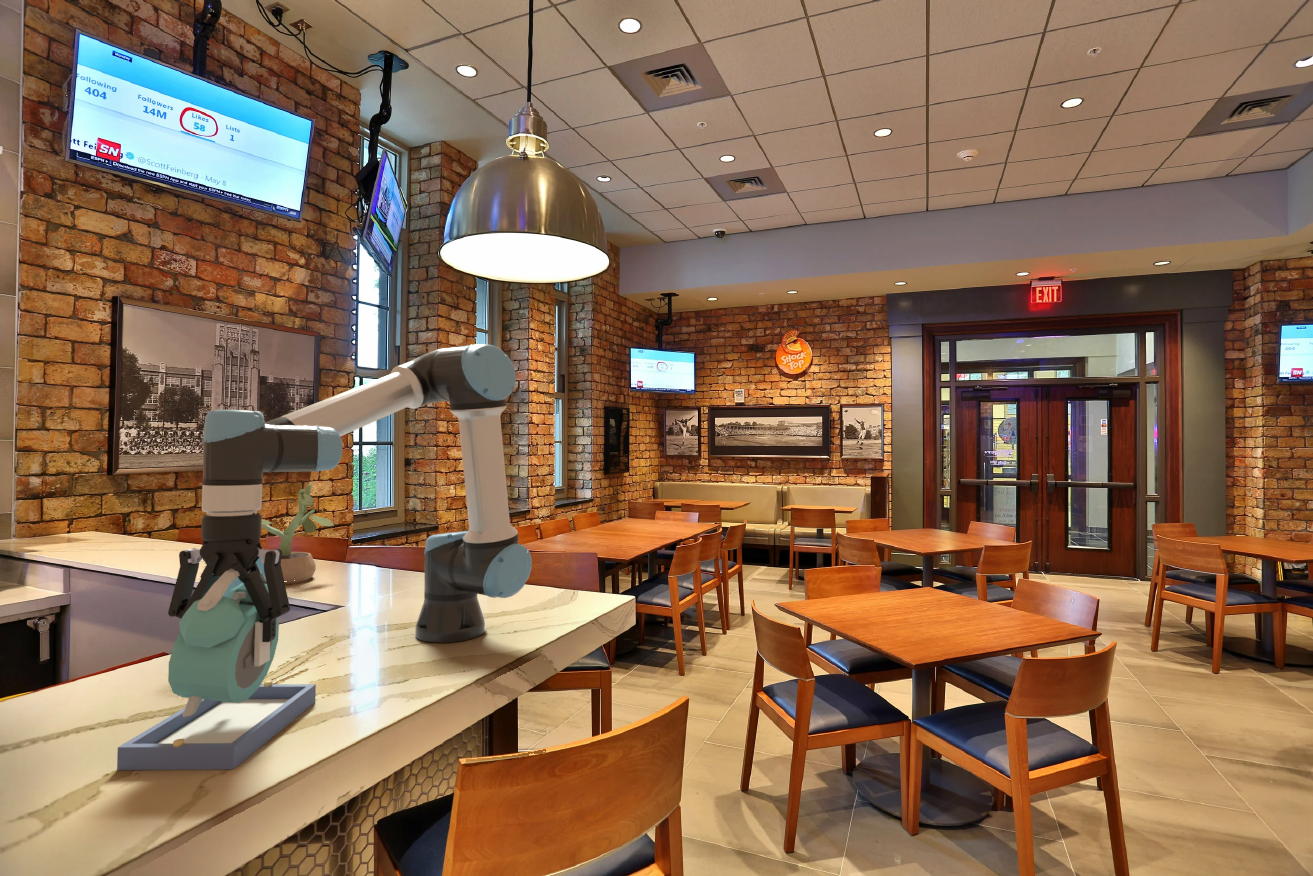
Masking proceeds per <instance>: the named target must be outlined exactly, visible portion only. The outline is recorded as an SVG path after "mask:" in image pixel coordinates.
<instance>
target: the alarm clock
mask: <svg viewBox="0 0 1313 876" xmlns="http://www.w3.org/2000/svg"><path fill="white" fill-rule="evenodd" d="M249 572H250V570H249V571H248V573H249ZM238 576H240V575H239V572H238V571H235V570H234V569H229V570H227V571H226V572H225V573H224V574H223V575H222V576H221V577H220V578H219V579H218V580H217V581H216V582H215V583H214V584H213V585H212V586H211V588H210V589H209V590H208V592H207V593H206V594H205V596H204V597H203V598H202V599H200V600H197V601H195V602H194V603H193V604H192V605H191V606H190V608H189V609H188V610H187V611H186V613H185V614H184V615H183V617H182V618H181V619H180V620H179V621H178V627H179V633H178V635H177V637H176V639H175V641H174V643H173V647H172V650H171V654H170V658H169V661H168V673H167V674H168V679H167V681H168V684H169V686H170V689H171V691H172V693H173V694H175V695H177V696H179V697H181V698H185V699H187V702H186V705H185V707H184V708H185V710H184V712H183V717H187V716H191V715H193V714H194V713H195V712H196V710H197V709H198V707H199V705H200V703H201V701H202V699H204V700H213V701H223V702H233V703H240V702H242V701H245V700H247V699H249V698H250V697H251V696H252V695H253V694H254V692H255V691H256V690H257V689H258V688H259V686H260V685H261V684H263V681H264V679H266V677H267V675H268V672H269V670H270V668H271V665H272V662H273V660H274V657H275V654H276V649H277V645H278V641H279V629H280V622H279V617H277V619H276V636H275V639H274V640H272V641H270V660H269V661H267V662H266V663H264V664H262V665H261V666H254V651H255V622H257V621H258V620H261V618H260V616H259V614H258V612H257V610H256V608H255V606H254V604H253V602H252V600H251V598H250V596H249V594H248V592H247V590H246V587H245V585H244V583H242V584H240V585H238V586H237V587H235V588H234V589H232V590H231V591H229V592H228V594H227V596H226V597H222V596H223V595H224V593H225V591H226V590H227V588H228V586H229V585H230V584H231V583H232V582H233V581H234V580H235V579H236V578H237V577H238ZM260 577H261V579H262V581H263V583H264V585H265V587H266V589H267V591H268V587H267V582H266V577H264V575H263V574H262V572H261V571H260ZM268 593H269V591H268Z"/></svg>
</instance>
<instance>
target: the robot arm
mask: <svg viewBox="0 0 1313 876" xmlns="http://www.w3.org/2000/svg"><path fill="white" fill-rule="evenodd" d="M516 380H517V379H516V371H515V367H514V364H513V362H512V360H511V359H510V357H509V356H508V354H506V353H505V352H504V351H503V350H502V349H501V348H500V347H498V346H496V345H493V344H483V343H481V344H479V343H475V344H470V345H469V344H468V345H461V346H453V347H442V348H439V349H436V350H433V351H430V352H427V353H425V354H423V355H420V356H418V357H416V358H414V359H411V360H409V361H407V362H405V363H402V364H399V365H396V366H394V367H393V368H392V370H391V372H390V373H389V374H387V375H385V376H382V377H380V378H377V379H374V380H372V381H369V382H367V383H365V384H362V385H359V386H357V387H353V388H351V389H348V390H346V391H343V392H341V393H338V394H336V395H332V396H330V397H328V398H326V399H322V400H321V401H318V402H315V403H313V404H310V405H308V406H305V407H302V408H300V409H297V410H294V411H292V412H290V413H287V414H283V415H281V416H279V417H277V418H274V419H271V420H268V421H265V416H264V414H263V413H262V412H261V411H259V410H258V411H257V410H245V409H244V410H243V409H241V410H239V409H215V410H214V409H213V410H211V411H209V412H208V413H207V414H206V415H205V417H204V418H205V420H204V425H203V435H202V439H201V440H202V442H201V443H202V456H203V457H202V460H203V461H202V462H203V464H202V467H203V468H202V470H203V471H202V486H201V487H202V491H201V511H202V512H204V513H206V514H204V515H203V516H202V517H201V526H200V527H201V528H200V529H201V532H200V534H201V535H200V537H201V539H202V545H201V547H200V548H196V547H193V548H189V549H184V550H181V551H180V552H179V554H178V558H179V570H178V572H177V577H176V581H175V584H174V589H173V591H172V596H171V600H170V604H169V607H168V611H167V615H168V616H169V617H171V618H172V617H176V618H179V619H180V620H181V618H182V617H183V615H184V614H185V613H186V611H187V610H188V609H189V608H190V606H191V605H192V604H193V603H194V602H195V601H197V600H200V599H202V598H203V597H204V596H205V594H206V593H207V592H208V590H209V589H210V588H211V586H212V585H213V584H214V583H215V582H216V581H217V580H218V579H219V578H220V577H221V576H222V575H223V574H224V573H225V572H226V571H227V570H229V569H234V570H235V571H238V572H239V575H240V576H238V578H239V580H240V581H241V582H243V583H244V585H245V587H246V590H247V592H248V594H249V596H250V598H251V600H252V602H253V604H254V606H255V608H256V610H257V612H258V614H259V616H260V618H261V620H258V621H257V622H255V651H254V666H261V665H262V664H264V663H266V662H267V661H269V660H270V641H272V640H274V639H275V636H276V619H277V618H279V617H282V616H283V615H285V614H288V613H289V612H290V611H291V607H290V606H291V605H290V601H289V597H288V593H287V592H288V591H287V589H286V588H287V587H286V584H285V582H284V578H283V573H282V568H281V558H282V550H280V549H279V548H275V549H266V548H263V547H262V545H261V542H260V541H261V536H262V526H261V521H262V519H263V518H262V515H261V513H260V512H258V511H260V510H261V509H262V507H263V506H262V505H263V504H262V503H263V502H262V501H263V500H262V499H263V482H264V481H263V477H264V473H273V472H274V473H275V472H276V473H277V472H283V473H284V472H285V473H286V472H287V473H288V472H290V473H291V472H292V473H294V472H295V473H297V472H299V473H300V472H313V473H318V472H322V471H323V472H325V471H331V470H333V469H335V468H336V467H337V466H338V465H339V463H340V462H341V459H342V456H343V441H342V438H341V437H342V436H346V435H347V434H349V433H352V432H354V431H356V430H358V429H360V428H362V427H365V426H367V425H370V424H371V423H374V422H377V421H379V420H381V419H383V418H386V417H387V416H390V415H392V414H395V413H397V412H399V411H401V410H402V411H403V410H404V409H406V408H409V409H412V410H413V409H414V410H415V409H418V408H420V407H422V406H425V405H429V404H434V403H442V402H448V403H449V411H450V413H451V414H452V415H454V416H455V417H456V418H457V419H458V425H459V426H458V427H459V436H460V439H459V440H460V447H461V448H460V449H461V456H462V457H461V458H462V466H463V468H462V469H463V476H464V486H465V488H464V489H465V497H466V499H465V500H466V507H467V519H468V530H465V531H455V532H447V533H445V532H444V533H438V534H433V535H430V536H428V537H427V539H426V540H425V547H424V551H423V554H424V592H423V593H424V597H423V604H422V606H421V610H420V612H419V616H418V618H417V621H416V624H415V631H414V632H415V634H414V636H415V638H417V640H420V641H423V642H426V643H427V642H429V643H440V644H441V643H455V642H456V643H457V642H463V641H467V640H471V639H475V638H477V637H480V636H482V635H483V634H484V633H485V631H486V627H485V626H486V625H485V624H486V621H485V617H484V615H483V611H482V609H481V605H480V602H479V599H478V595H482V596H487V597H488V598H499V599H500V598H501V599H506V598H511V597H513V596H515V595H517V594H518V593H519V592H520V591H521V590H522V589H523V588H524V586H525V585H526V582H527V581H528V579H529V577H530V575H531V571H532V565H533V561H532V560H533V559H532V555H531V553H530V550H528V549H527V547H526V546H524V545H523V544H521V543H520V541H519V532H518V529H517V528H515V527H514V526H513V525H512V524H511V523H510V522H511V521H510V520H511V519H510V510H509V500H508V499H509V498H508V489H507V488H508V487H507V476H506V464H505V455H504V454H505V453H504V443H503V434H502V422H501V416H502V413H503V412H504V411H505V410H506V409H507V407H508V406H507V398H508V397H509V396H510V395H511V394H512V393H513V389H514V388H515V386H516ZM259 557H260V558H261V559H262V560H261V563H263V564H264V573H265V577H266V582H267V587H268V591H269V593H268V591H267V589H266V587H265V585H264V583H263V581H262V579H261V577H260V570H259V568H258V566H257V564H256V561H257V560H258V559H259ZM202 560H203V561H204V563H205V564H206V565H205V566H204V569H203V571H202V572H201V574H200V580H199V582H198V583H197V585H196V587H195V589H194V586H195V583H196V578H197V575H198V571H199V567H200V562H201V561H202ZM249 570H250V572H249V573H248V571H249Z"/></svg>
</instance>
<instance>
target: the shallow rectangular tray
mask: <svg viewBox="0 0 1313 876" xmlns="http://www.w3.org/2000/svg"><path fill="white" fill-rule="evenodd" d="M316 685H317V684H316V683H315V684H314V683H313V684H311V683H308V684H307V683H306V684H300V683H298V684H297V683H296V684H295V683H294V684H293V683H292V684H286V683H285V684H283V683H282V684H273V680H266V681H264V682H263V683H261V685H260V686H259V688H258V689H257V690H256V691H255V692H254V694H253V695H252V696H251V697H250V698H249V699H247V700H245V701H242V702H240V703H233V702H223V701H213V700H204V699H202V701H201V703H200V705H199V707H198V709H197V710H196V712H195V713H194V714H193V715H191V716H187V717H183V712H184V710H185V707H184V708H181V709H180V710H177V712H175V713H174V714H171V715H170V716H168V717H166V718H165V719H163V720H161V721H159V722H158V723H156V724H155V725H152V726H151V727H149V728H148V729H146V730H145V731H143V732H141V733H139V734H137V735H136V736H135V737H133V738H131V739H129V740H128V741H126V742H124V743H122V744H120V745H119V746H118V747H117V751H116V752H117V757H116V759H117V760H116V763H117V764H116V770H117V771H170V770H172V771H177V770H179V771H181V770H182V771H183V770H189V771H191V770H195V771H197V770H202V771H203V770H204V771H205V770H235V769H236V768H237V767H239V766H240V765H241V764H242V763H243V762H245V761H246V760H247V759H248V758H249V757H251V756H252V755H253V754H255V752H257V751H258V750H259V749H260V748H262V747H263V746H264V745H265V744H266V743H267V742H269V741H270V740H271V739H273V738H274V737H275V736H276V735H278V734H279V733H280V732H281V731H282V730H284V729H285V728H286V727H287V726H288V725H290V724H291V723H293V721H295V720H296V719H297V718H298V717H299V716H301V714H303V713H304V712H306V710H308V709H309V708H310V707H312V706H313V705H314V704H315V703H316V695H317V693H316V689H317V687H316Z"/></svg>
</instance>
